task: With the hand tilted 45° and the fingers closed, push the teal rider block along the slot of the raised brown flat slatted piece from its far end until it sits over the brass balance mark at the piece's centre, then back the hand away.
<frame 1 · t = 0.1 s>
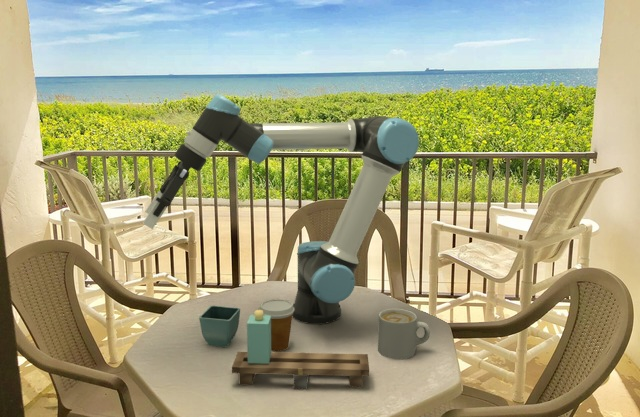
hand: (148, 220, 145), 36 cm above the table, tool tilted 35°, fingers open, 13 cm apart
rider: (259, 337, 136), point 11 cm above the table, slide at -10.0 cm
flower pot: (221, 343, 157), on the table
brown flat slatted piece: (301, 379, 138), on the table
coffee mug: (402, 352, 153), on the table
disposable coffee cup: (276, 347, 156), on the table
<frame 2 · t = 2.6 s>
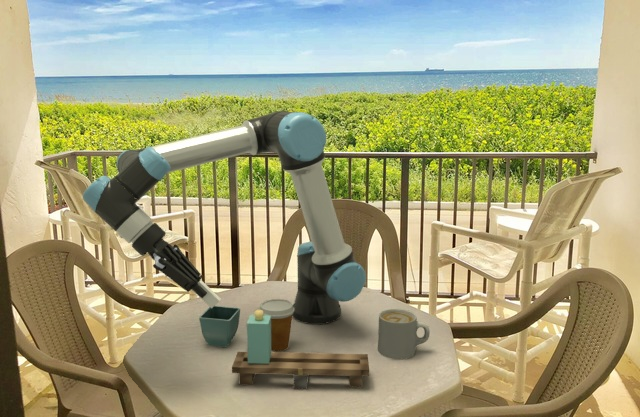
hand: (216, 303, 134), 19 cm above the table, tool tilted 45°, fingers closed
nothing on the table moved.
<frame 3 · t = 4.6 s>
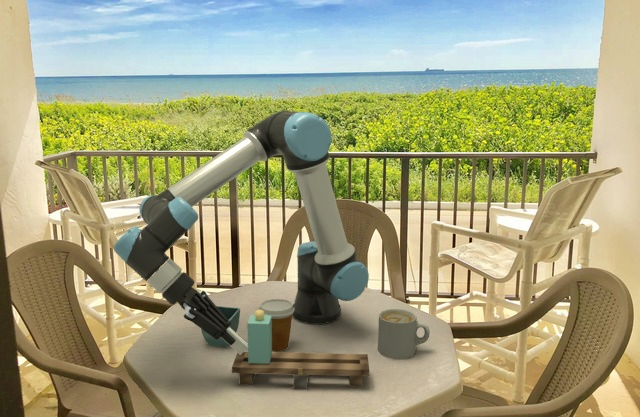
hand: (244, 350, 137), 8 cm above the table, tool tilted 45°, fingers closed
rider: (260, 337, 136), point 11 cm above the table, slide at -9.8 cm, touching gripper
everything else where it was.
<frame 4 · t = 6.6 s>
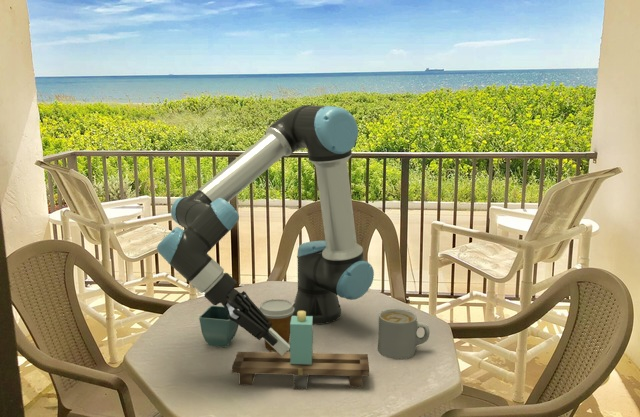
hand: (285, 350, 136), 8 cm above the table, tool tilted 45°, fingers closed
rider: (301, 338, 136), point 11 cm above the table, slide at 0.1 cm, touching gripper
everything else where it was.
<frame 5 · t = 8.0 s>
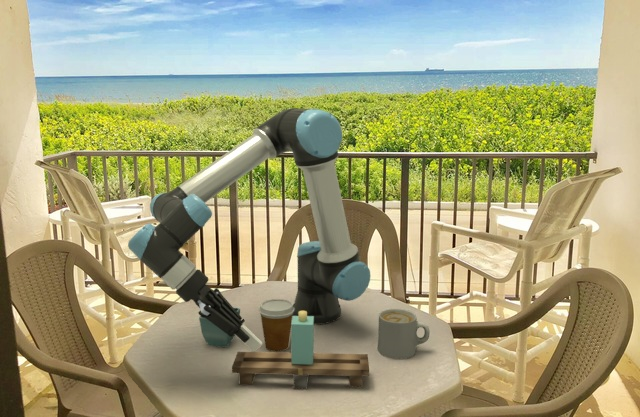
hand: (258, 347, 136), 8 cm above the table, tool tilted 45°, fingers closed
rider: (302, 338, 136), point 11 cm above the table, slide at 0.3 cm
everything else where it was.
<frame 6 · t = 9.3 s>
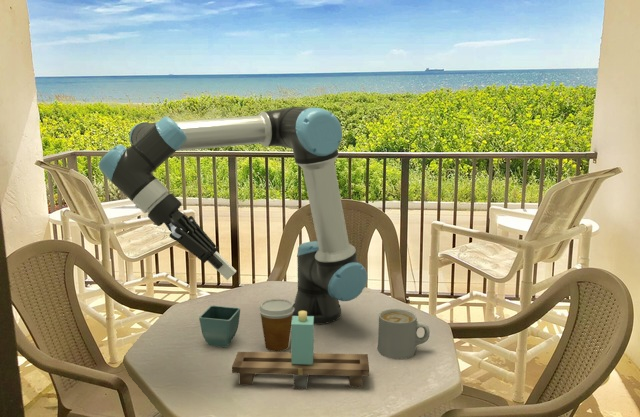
hand: (231, 275, 133), 26 cm above the table, tool tilted 45°, fingers closed
nothing on the table moved.
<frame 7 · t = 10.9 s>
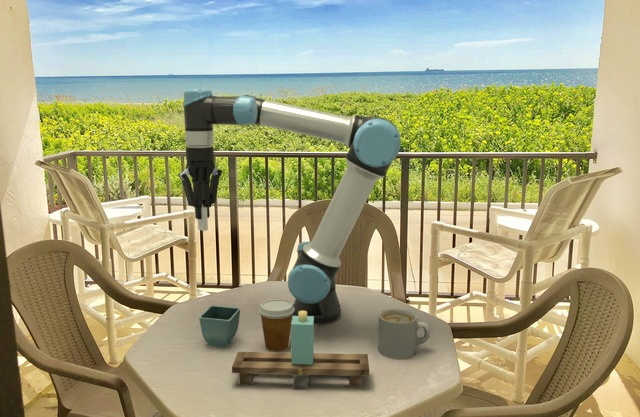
hand: (202, 229, 162), 29 cm above the table, tool pointing down, fingers closed
nothing on the table moved.
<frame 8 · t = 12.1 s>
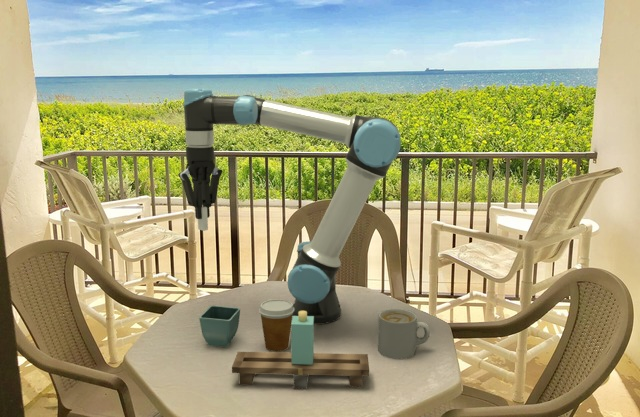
hand: (203, 229, 162), 29 cm above the table, tool pointing down, fingers closed
nothing on the table moved.
at the end: rider slide at 0.3 cm; rider inside the target area (0.3 cm from its centre), resting on brown flat slatted piece; the gripper is holding nothing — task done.
